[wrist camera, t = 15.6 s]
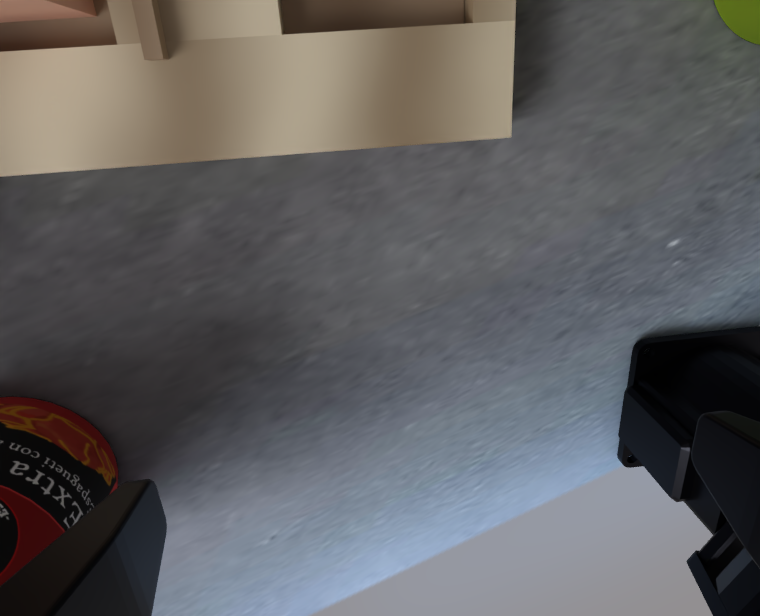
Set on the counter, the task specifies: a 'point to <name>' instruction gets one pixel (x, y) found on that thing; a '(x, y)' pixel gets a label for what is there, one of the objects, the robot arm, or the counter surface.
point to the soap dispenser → (741, 17)
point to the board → (250, 80)
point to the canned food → (46, 476)
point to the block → (45, 9)
